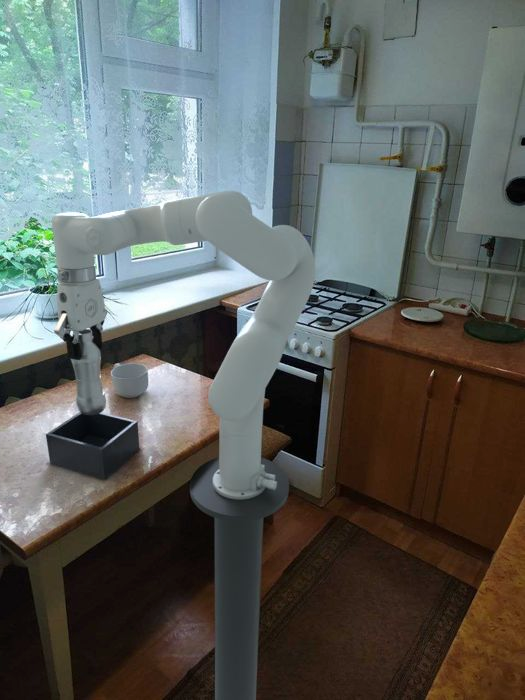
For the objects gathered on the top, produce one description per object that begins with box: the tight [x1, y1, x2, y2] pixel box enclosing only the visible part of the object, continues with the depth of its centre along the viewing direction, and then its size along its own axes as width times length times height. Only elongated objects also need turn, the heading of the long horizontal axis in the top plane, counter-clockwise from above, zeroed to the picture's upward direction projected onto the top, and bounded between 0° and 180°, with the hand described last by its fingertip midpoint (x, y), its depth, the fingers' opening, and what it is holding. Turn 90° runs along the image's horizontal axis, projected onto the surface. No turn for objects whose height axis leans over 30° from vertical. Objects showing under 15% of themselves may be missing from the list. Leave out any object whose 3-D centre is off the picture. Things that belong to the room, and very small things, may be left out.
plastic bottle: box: [70, 328, 107, 415], centre depth 112 cm, size 6×7×20 cm
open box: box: [45, 411, 140, 481], centre depth 118 cm, size 16×14×8 cm
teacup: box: [110, 362, 149, 399], centre depth 150 cm, size 14×11×8 cm
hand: (85, 352), depth 110 cm, fingers closed on plastic bottle, 6 cm apart
